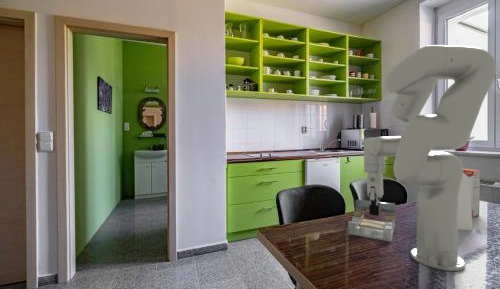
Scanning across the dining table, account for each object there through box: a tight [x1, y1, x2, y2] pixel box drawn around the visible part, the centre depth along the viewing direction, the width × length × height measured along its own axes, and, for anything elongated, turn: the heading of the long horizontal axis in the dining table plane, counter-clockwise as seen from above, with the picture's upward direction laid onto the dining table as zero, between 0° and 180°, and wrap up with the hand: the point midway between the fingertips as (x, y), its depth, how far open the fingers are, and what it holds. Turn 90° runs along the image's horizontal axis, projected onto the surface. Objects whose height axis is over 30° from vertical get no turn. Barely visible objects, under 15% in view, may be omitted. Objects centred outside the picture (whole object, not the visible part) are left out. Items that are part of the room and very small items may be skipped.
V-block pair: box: [347, 215, 394, 243], centre depth 94 cm, size 8×14×4 cm, turn 57°
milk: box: [458, 173, 474, 231], centre depth 103 cm, size 12×12×26 cm
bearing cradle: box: [353, 209, 396, 233], centre depth 102 cm, size 8×14×6 cm, turn 57°
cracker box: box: [463, 168, 481, 218], centre depth 118 cm, size 14×6×21 cm, turn 25°
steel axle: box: [354, 199, 396, 215], centre depth 101 cm, size 4×14×4 cm, turn 57°
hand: (374, 213), depth 101 cm, fingers closed on steel axle, 4 cm apart
